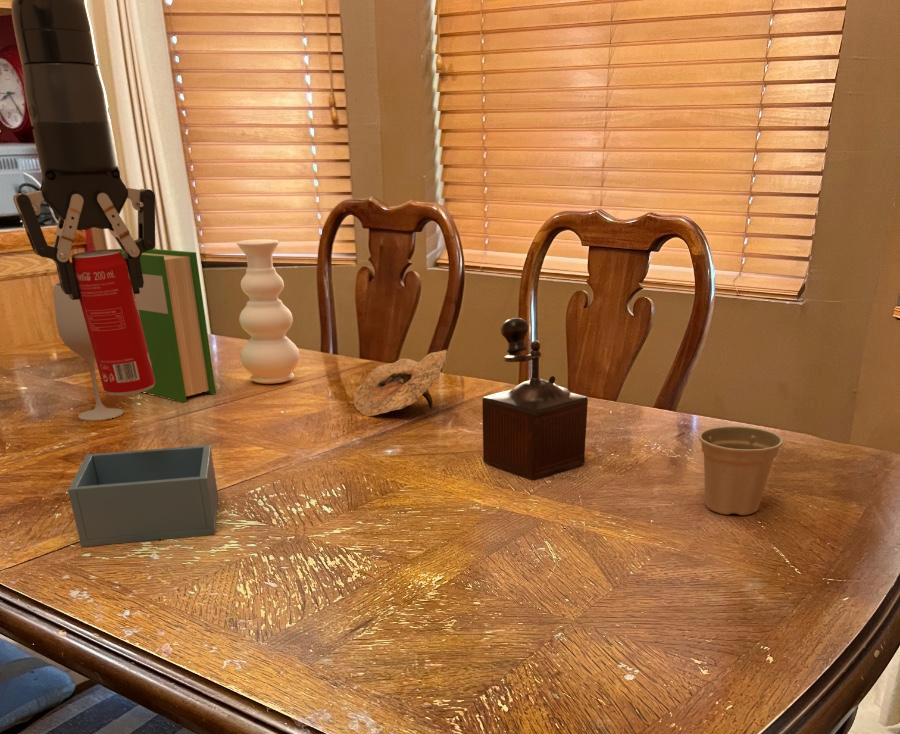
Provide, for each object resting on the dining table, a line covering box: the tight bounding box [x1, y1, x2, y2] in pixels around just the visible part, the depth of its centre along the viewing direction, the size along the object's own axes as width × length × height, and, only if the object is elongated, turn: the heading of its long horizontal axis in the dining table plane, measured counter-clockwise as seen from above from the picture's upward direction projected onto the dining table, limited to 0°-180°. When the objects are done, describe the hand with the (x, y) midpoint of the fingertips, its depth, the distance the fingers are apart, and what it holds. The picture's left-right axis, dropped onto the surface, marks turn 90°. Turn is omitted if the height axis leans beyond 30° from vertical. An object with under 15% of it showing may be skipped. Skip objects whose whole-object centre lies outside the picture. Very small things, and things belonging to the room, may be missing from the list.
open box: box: [67, 444, 219, 548], centre depth 101 cm, size 15×13×7 cm
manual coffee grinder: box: [481, 317, 589, 481], centre depth 117 cm, size 16×11×18 cm
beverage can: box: [70, 248, 155, 397], centre depth 95 cm, size 6×6×15 cm
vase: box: [236, 238, 300, 385], centre depth 159 cm, size 11×11×25 cm
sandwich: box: [352, 349, 448, 417], centre depth 145 cm, size 18×14×8 cm
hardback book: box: [117, 248, 217, 403], centre depth 153 cm, size 18×7×24 cm, turn 53°
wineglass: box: [53, 282, 125, 422], centre depth 140 cm, size 8×8×21 cm
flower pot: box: [698, 425, 784, 516], centre depth 101 cm, size 9×9×9 cm
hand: (104, 295), depth 94 cm, fingers closed on beverage can, 5 cm apart
